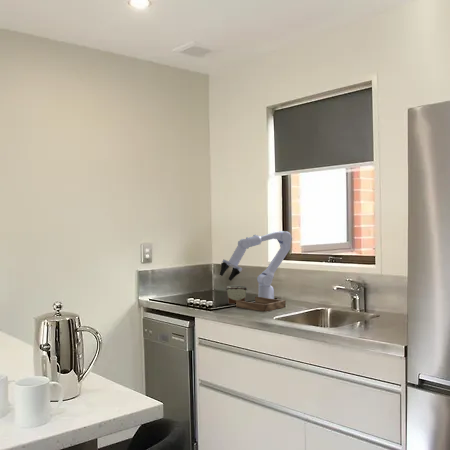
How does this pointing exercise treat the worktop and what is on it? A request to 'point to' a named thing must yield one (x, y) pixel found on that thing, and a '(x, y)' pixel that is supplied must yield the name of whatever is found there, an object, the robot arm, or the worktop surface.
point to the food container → (236, 293)
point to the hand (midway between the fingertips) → (225, 277)
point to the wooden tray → (262, 304)
